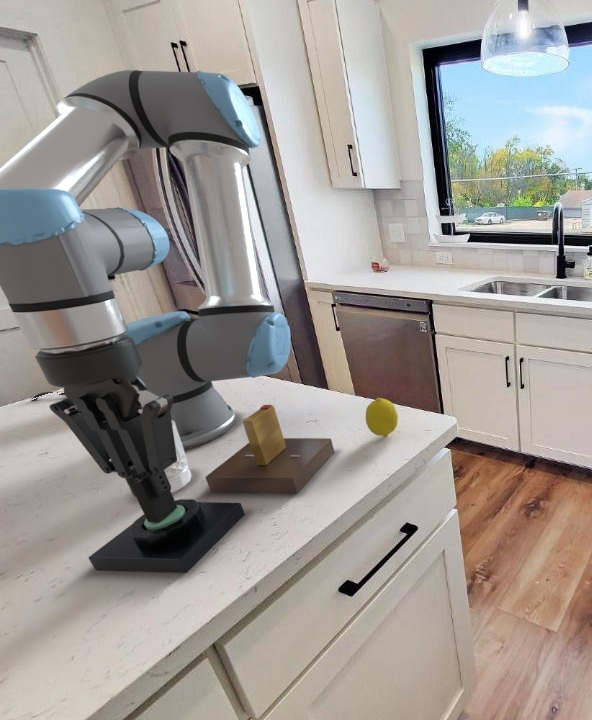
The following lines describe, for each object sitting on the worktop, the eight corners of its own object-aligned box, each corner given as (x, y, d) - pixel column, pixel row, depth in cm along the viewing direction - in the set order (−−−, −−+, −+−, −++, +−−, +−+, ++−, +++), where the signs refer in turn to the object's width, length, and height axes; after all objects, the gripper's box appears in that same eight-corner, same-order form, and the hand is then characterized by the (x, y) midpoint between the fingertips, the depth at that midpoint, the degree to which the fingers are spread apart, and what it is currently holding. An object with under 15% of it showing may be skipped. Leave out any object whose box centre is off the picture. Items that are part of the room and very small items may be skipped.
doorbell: (95, 570, 51) (81, 546, 50) (167, 513, 61) (157, 490, 59) (186, 573, 51) (175, 548, 49) (245, 514, 60) (237, 492, 58)
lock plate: (211, 492, 65) (204, 476, 63) (259, 452, 75) (254, 437, 74) (297, 494, 64) (292, 477, 63) (334, 452, 74) (330, 437, 73)
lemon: (391, 445, 75) (383, 406, 73) (363, 443, 77) (355, 404, 74) (406, 429, 80) (399, 392, 78) (380, 427, 82) (373, 390, 79)
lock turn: (266, 465, 66) (251, 419, 63) (256, 465, 66) (241, 419, 63) (286, 447, 70) (273, 404, 67) (277, 447, 71) (264, 404, 67)
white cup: (158, 472, 70) (135, 420, 66) (207, 469, 71) (187, 417, 67) (118, 504, 63) (89, 448, 59) (173, 500, 63) (148, 444, 60)
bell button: (140, 537, 53) (135, 526, 52) (168, 514, 57) (163, 504, 56) (170, 537, 53) (165, 527, 52) (196, 515, 56) (191, 504, 56)
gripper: (171, 330, 48) (232, 495, 57) (67, 332, 49) (143, 494, 58) (104, 353, 41) (185, 537, 50) (-15, 354, 42) (85, 535, 51)
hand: (163, 514), depth 54 cm, fingers closed
